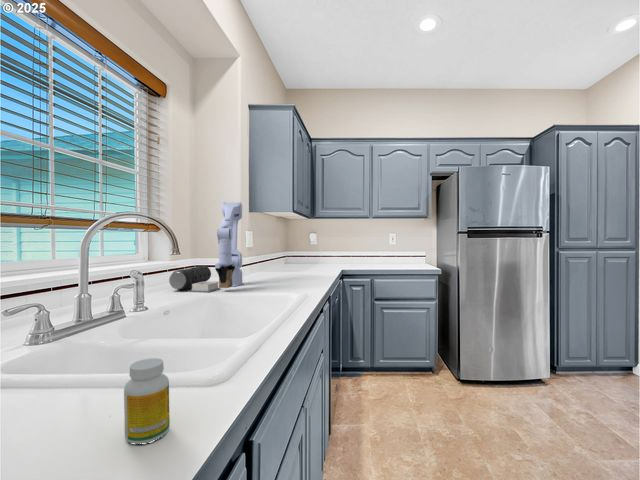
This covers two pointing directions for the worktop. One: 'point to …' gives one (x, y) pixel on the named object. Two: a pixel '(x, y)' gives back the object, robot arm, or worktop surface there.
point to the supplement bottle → (146, 402)
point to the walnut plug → (227, 280)
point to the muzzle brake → (189, 277)
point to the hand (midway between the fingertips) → (225, 281)
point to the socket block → (204, 287)
